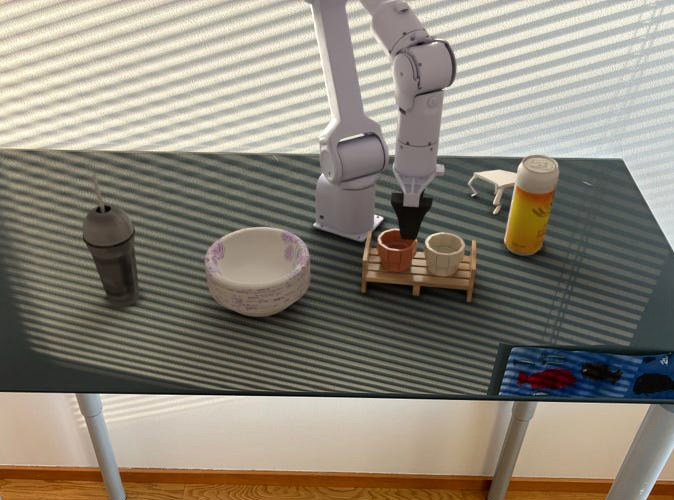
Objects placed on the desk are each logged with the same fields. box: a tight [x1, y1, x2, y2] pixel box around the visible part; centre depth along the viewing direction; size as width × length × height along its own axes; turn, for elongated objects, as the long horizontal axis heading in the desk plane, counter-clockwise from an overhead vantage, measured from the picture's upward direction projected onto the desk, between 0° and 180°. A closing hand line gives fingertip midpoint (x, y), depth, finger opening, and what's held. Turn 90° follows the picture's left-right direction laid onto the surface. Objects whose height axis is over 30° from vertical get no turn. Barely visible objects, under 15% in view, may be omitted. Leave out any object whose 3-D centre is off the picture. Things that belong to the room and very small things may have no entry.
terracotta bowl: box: [376, 228, 418, 272], centre depth 114 cm, size 6×6×4 cm
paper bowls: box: [203, 226, 311, 318], centre depth 112 cm, size 15×15×8 cm
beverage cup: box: [82, 174, 140, 308], centre depth 108 cm, size 7×7×20 cm
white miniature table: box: [467, 169, 517, 215], centre depth 132 cm, size 12×8×5 cm
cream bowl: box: [423, 231, 466, 277], centre depth 113 cm, size 6×6×4 cm
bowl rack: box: [360, 232, 477, 303], centre depth 115 cm, size 8×16×6 cm, turn 81°
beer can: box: [503, 154, 560, 256], centre depth 119 cm, size 6×6×15 cm
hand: (410, 223), depth 111 cm, fingers open, 7 cm apart
